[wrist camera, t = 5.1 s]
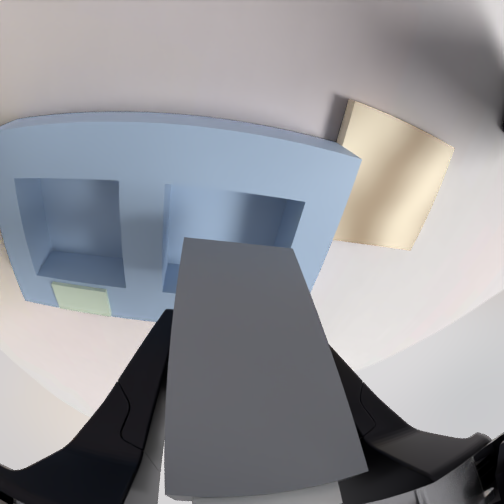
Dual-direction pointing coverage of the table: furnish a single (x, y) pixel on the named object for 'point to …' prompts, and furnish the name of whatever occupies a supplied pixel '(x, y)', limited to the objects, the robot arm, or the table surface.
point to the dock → (157, 202)
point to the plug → (252, 384)
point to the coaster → (389, 178)
